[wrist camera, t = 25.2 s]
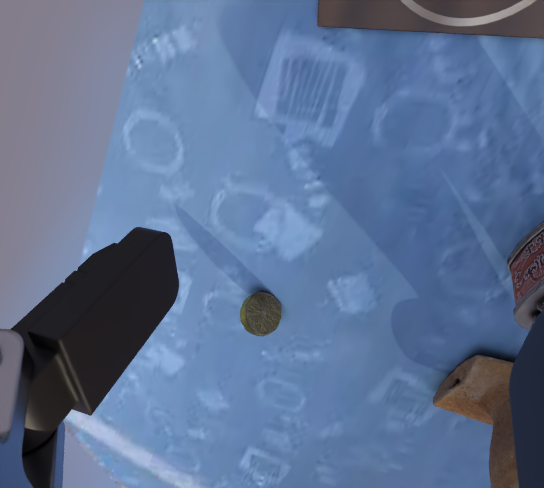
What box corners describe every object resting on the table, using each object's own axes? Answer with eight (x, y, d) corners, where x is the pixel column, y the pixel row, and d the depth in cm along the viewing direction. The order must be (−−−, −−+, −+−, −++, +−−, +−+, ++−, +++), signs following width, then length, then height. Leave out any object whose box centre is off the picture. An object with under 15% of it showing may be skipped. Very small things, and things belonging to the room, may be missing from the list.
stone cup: (629, 371, 43) (690, 537, 31) (567, 435, 50) (598, 588, 38) (467, 322, 46) (468, 456, 34) (431, 389, 53) (421, 518, 42)
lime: (252, 281, 53) (236, 309, 49) (289, 297, 52) (276, 326, 49) (245, 305, 56) (229, 333, 52) (281, 320, 55) (267, 350, 51)
